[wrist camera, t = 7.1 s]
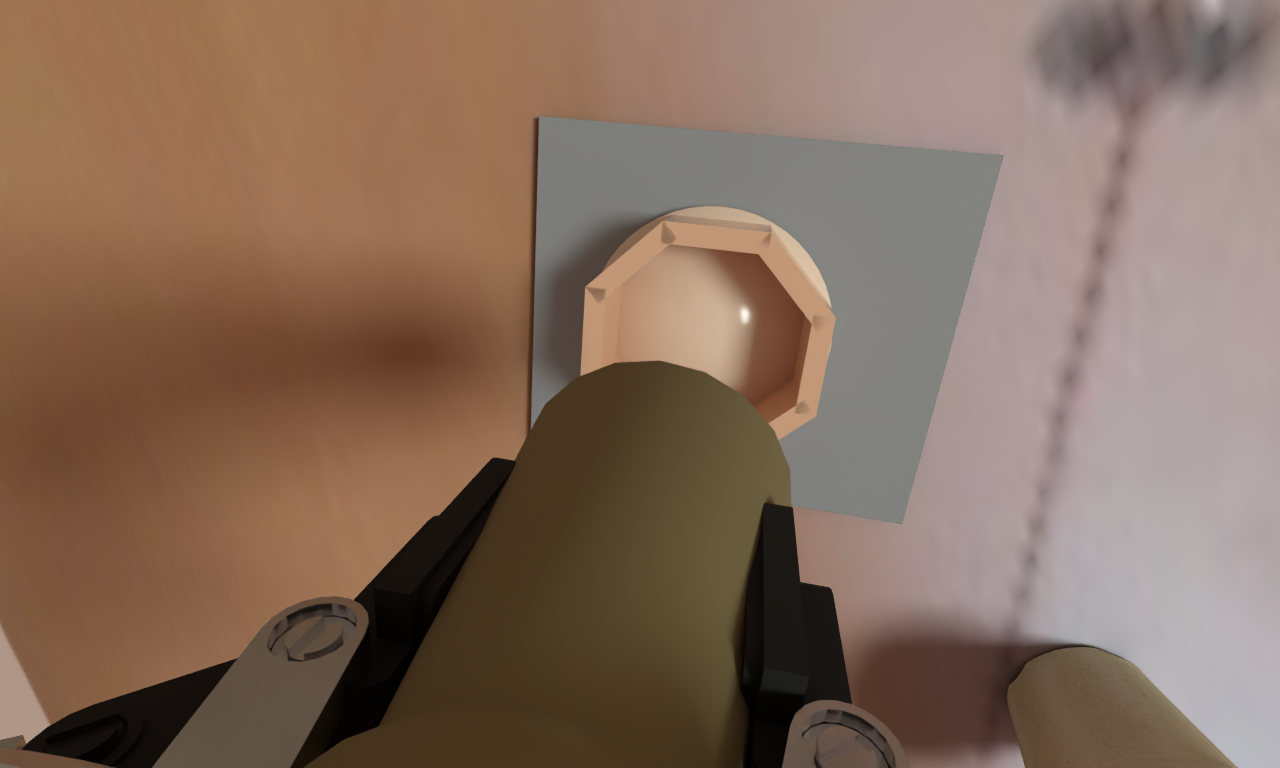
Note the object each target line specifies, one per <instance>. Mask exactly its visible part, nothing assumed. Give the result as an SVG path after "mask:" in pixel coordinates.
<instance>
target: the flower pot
mask: <svg viewBox="0 0 1280 768" xmlns="http://www.w3.org/2000/svg"><path fill="white" fill-rule="evenodd" d="M1007 703H1008V709H1009V712H1010V715H1011V718H1012V721H1013V725H1014V729H1015V732H1016V736H1017V739H1018V743H1019V746H1020V750H1021V754H1022V758H1023V761H1024V765H1025V768H1237V767H1236V766H1235V765H1234V764H1233V763H1232V762H1231V761H1230V760H1229V759H1228V758H1227V757H1226V756H1225V755H1224V754H1223V753H1222V752H1221V751H1220V750H1219V749H1218V748H1217V747H1216V746H1215V745H1214V744H1213V743H1212V742H1211V741H1210V740H1209V739H1208V738H1207V737H1206V736H1205V735H1204V734H1203V733H1202V732H1201V731H1200V730H1199V729H1198V728H1197V727H1196V726H1195V725H1194V724H1193V723H1192V722H1191V721H1190V720H1189V719H1188V718H1187V717H1186V716H1185V715H1184V714H1183V713H1182V712H1181V711H1180V710H1179V709H1178V708H1177V707H1176V706H1175V705H1174V704H1173V703H1172V702H1171V701H1170V700H1169V699H1168V698H1167V697H1166V696H1165V695H1164V694H1163V693H1162V692H1161V691H1160V690H1159V689H1158V688H1157V687H1156V686H1155V685H1154V684H1153V683H1152V682H1151V681H1150V680H1149V679H1148V678H1147V677H1146V676H1145V675H1144V673H1143V672H1142V671H1141V670H1140V669H1139V668H1138V667H1137V666H1135V665H1134V664H1133V663H1131V662H1130V661H1128V660H1124V659H1122V658H1120V657H1117V656H1114V655H1112V654H1109V653H1107V652H1104V651H1102V650H1099V649H1096V648H1088V647H1073V648H1064V649H1059V650H1054V651H1051V652H1048V653H1045V654H1042V655H1040V656H1038V657H1036V658H1034V659H1032V660H1030V661H1029V662H1027V663H1026V664H1025V666H1024V668H1023V670H1022V671H1021V673H1020V674H1019V676H1018V677H1017V678H1016V680H1015V681H1014V682H1013V683H1011V684H1010V685H1009V688H1008V693H1007Z"/></svg>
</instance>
